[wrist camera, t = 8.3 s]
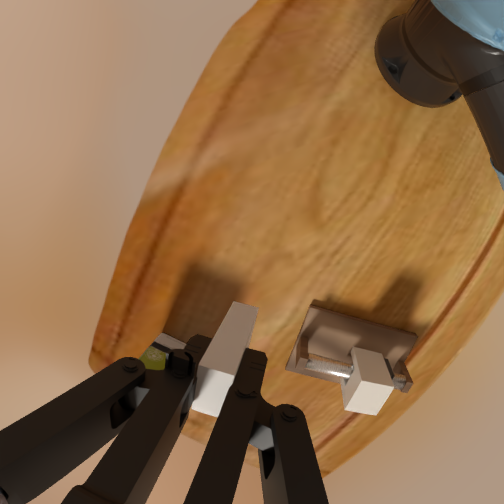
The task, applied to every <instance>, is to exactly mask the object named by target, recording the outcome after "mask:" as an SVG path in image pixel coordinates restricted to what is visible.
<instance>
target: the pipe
mask: <svg viewBox="0 0 504 504" xmlns="http://www.w3.org/2000/svg"><path fill="white" fill-rule="evenodd" d="M304 369H308V370H312V371H316V372H320V373H324V374H328V375H332V376H336V377H340V378H345V379H350V377H351V375H352V373H353V371H354V364H352V363H347V362H343V361H339V360H335V359H331V358H327V357H323V356H320V355H316V354H312V353H308V361H307V364H306V366H305V368H304ZM394 375H395V376H394V378H393V380H392V382H393V385H394V389H398V390H401V389H402V388H403V387H404V385H405V382H406V377H405V375H401V374H396V373H394Z"/></svg>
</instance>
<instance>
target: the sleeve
mask: <svg viewBox="0 0 504 504" xmlns="http://www.w3.org/2000/svg"><path fill="white" fill-rule="evenodd" d="M351 356H352V360H353V364H354V371H353V373H352V375H351V377H350V379H345V378H340V381H341V388H342V395H343V402H344V410H348V411H353V412H359V413H364V414H370V415H377V413H378V412H379V410H380V409H381V407H382V406H383V404H384V403H385V401H386V400H387V398H388V397H389V395H390V393H391V392H392V390H393V389H394V385H393V382H392V379H391V376H390V374H389V371H388V368H387V366H386V363H385V361H384V358H383V355H382V353H377V352H373V351H369V350H365V349H361V348H357V347H353V348H352V350H351Z"/></svg>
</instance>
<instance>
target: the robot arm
mask: <svg viewBox="0 0 504 504" xmlns="http://www.w3.org/2000/svg"><path fill="white" fill-rule="evenodd" d="M375 58H376V62H377V65H378V67H379V70H380V72H381V74H382V75H383V77H384V79H385V80H386V81H387V83H388V84H389V85H390V86H391V87H392V88H393V89H394V90H395V91H396V92H397V93H398V94H399V95H401V96H402V97H404V98H405V99H407V100H408V101H410V102H412V103H415V104H417V105H420V106H424V107H430V108H436V107H442V106H445V105H448V104H450V103H452V102H454V101H456V100H457V99H458V98H459V97H461V95H462V94H463V96H464V98H465V100H466V102H467V104H468V106H469V108H470V110H471V112H472V114H473V117H474V119H475V121H476V123H477V125H478V127H479V130H480V132H481V134H482V137H483V139H484V142H485V144H486V146H487V149H488V152H489V154H490V161H491V165H492V167H493V168H494V170H495V172H496V173H497V176H498V178H499V181H500V184H501V187H502V189H503V191H504V0H415V1H414V3H413V4H412V6H411V7H410V9H409V11H408V12H407V13H405V14H402V15H400V16H396V17H394V18H392V19H390V20H389V21H388V22H387V23H386V24H385V25H384V26H383V27H382V29H381V30H380V32H379V34H378V36H377V38H376V42H375ZM488 86H489V87H488ZM483 88H484V89H483ZM481 89H482V90H481ZM476 91H477V92H476ZM469 94H470V95H469ZM258 309H259V308H258V307H254V306H250V305H247V304H243V303H239V302H236V301H233V303H232V305H231V307H230V309H229V310H228V312H227V314H226V316H225V318H224V319H223V321H222V323H221V325H220V327H219V329H218V330H217V332H216V334H215V336H214V338H213V339H212V338H208V337H205V336H202V335H199V334H197V335H195V336H194V337H192V338H190V340H189V341H188V343H187V345H186V346H185V347H184V349H172V350H169V351H168V352H167V353H166V359H165V368H164V370H153V369H146V367H145V364H144V363H143V362H142V361H141V360H139V359H137V358H133V357H124V358H121V359H119V360H117V361H116V362H114V363H113V364H111V365H109V366H108V367H106V368H104V369H103V370H101V371H100V372H98V373H96V374H95V375H93V376H92V377H90V378H88V379H87V380H85V381H83V382H82V383H80V384H78V385H77V386H75V387H73V388H72V389H70V390H68V391H67V392H65V393H63V394H62V395H60V396H58V397H57V398H55V399H53V400H52V401H50V402H48V403H47V404H45V405H43V406H42V407H40V408H38V409H37V410H35V411H33V412H32V413H30V414H28V415H27V416H25V417H23V418H21V419H20V420H18V421H16V422H14V423H13V424H11V425H10V426H8V427H6V428H4V429H3V430H1V431H0V504H26V503H28V502H29V501H31V500H32V499H34V498H36V497H37V496H39V495H40V494H41V493H43V492H44V491H45V490H47V489H48V488H49V487H51V486H52V485H53V484H55V483H56V482H57V481H59V480H60V479H62V478H63V477H64V476H66V475H67V474H68V473H69V472H71V471H72V470H73V469H75V468H76V467H77V466H79V465H80V464H81V463H82V462H84V461H85V460H86V459H88V458H89V457H90V456H91V455H93V454H94V453H95V452H97V451H98V450H99V449H100V448H102V447H103V446H104V445H105V444H106V443H108V442H109V441H110V440H111V439H113V438H114V437H115V436H116V435H118V436H117V437H116V439H115V440H114V441H113V443H112V444H111V446H110V447H109V449H108V450H107V452H106V453H105V455H104V456H103V457H102V459H101V460H100V462H99V463H98V465H97V466H96V467H95V469H94V470H93V472H92V473H91V475H90V476H89V478H88V479H87V481H86V482H85V483H84V484H83V485H77V486H75V487H73V488H72V490H71V491H70V492H69V493H68V494H67V496H66V497H65V499H64V500H63V501H62V503H61V504H145V503H146V501H147V499H148V497H149V495H150V493H151V491H152V489H153V487H154V485H155V483H156V481H157V479H158V477H159V475H160V473H161V471H162V469H163V467H164V465H165V463H166V461H167V459H168V457H169V455H170V453H171V451H172V449H173V447H174V445H175V443H176V441H177V439H178V437H179V435H180V433H181V430H182V428H183V426H184V424H185V422H186V420H187V418H188V414H189V409H190V407H191V405H192V409H193V410H196V411H199V412H202V413H205V414H208V415H211V416H215V417H218V418H217V421H216V423H215V426H214V428H213V431H212V433H211V436H210V439H209V441H208V444H207V446H206V449H205V451H204V454H203V456H202V459H201V462H200V464H199V467H198V469H197V472H196V474H195V476H194V479H193V482H192V484H191V486H190V489H189V491H188V494H187V496H186V499H185V501H184V503H183V504H232V502H233V498H234V495H235V491H236V488H237V484H238V480H239V477H240V473H241V469H242V465H243V462H244V458H245V454H246V450H247V446H248V443H249V444H251V445H253V446H255V447H256V448H258V455H259V464H260V473H261V481H262V490H263V498H264V504H329V503H328V499H327V495H326V491H325V488H324V484H323V480H322V477H321V473H320V469H319V466H318V462H317V458H316V455H315V451H314V447H313V444H312V440H311V437H310V433H309V429H308V426H307V422H306V418H305V415H304V413H303V412H302V411H301V410H300V409H299V408H298V407H296V406H294V405H289V404H281V405H278V406H276V407H275V406H273V405H271V404H269V403H267V402H266V401H265V400H264V399H263V398H262V396H261V393H260V391H261V386H262V381H263V377H264V373H265V368H266V364H267V360H268V359H267V357H266V354H265V353H264V352H261V351H257V350H253V349H249V348H248V347H249V344H250V340H251V336H252V332H253V328H254V324H255V320H256V316H257V312H258Z"/></svg>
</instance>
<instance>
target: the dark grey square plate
mask: <svg viewBox="0 0 504 504" xmlns="http://www.w3.org/2000/svg"><path fill="white" fill-rule="evenodd" d="M384 361H385V363H386V366H387V368H388V371H389V374H390V376H391V379H392V380H393V378H394V376H395V375H394V373H393V370H392V368H391V365H390V363H389V360H388V359H386V358H384Z"/></svg>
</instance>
